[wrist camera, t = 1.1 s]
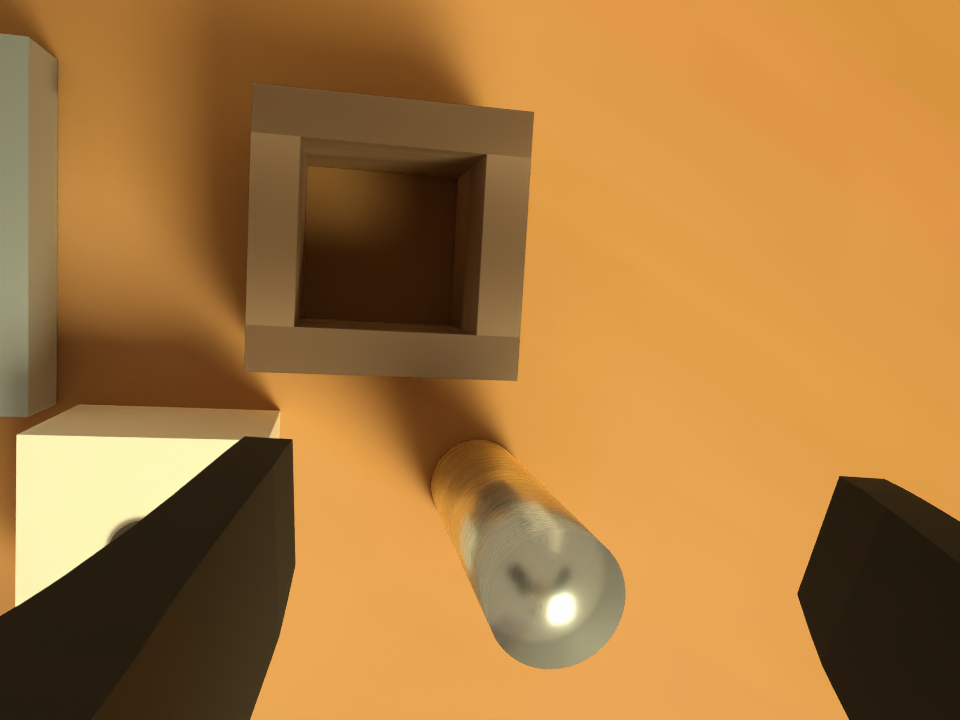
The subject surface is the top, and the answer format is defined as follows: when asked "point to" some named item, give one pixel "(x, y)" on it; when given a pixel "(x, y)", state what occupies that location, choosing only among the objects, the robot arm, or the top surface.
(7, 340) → the tray
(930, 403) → the top surface
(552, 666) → the cylinder
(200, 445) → the small block
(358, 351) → the hollow square frame
